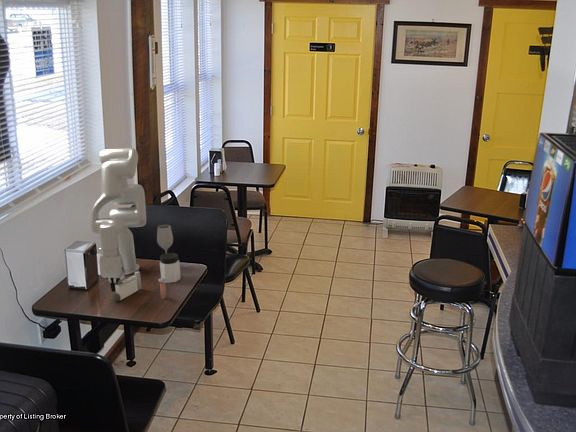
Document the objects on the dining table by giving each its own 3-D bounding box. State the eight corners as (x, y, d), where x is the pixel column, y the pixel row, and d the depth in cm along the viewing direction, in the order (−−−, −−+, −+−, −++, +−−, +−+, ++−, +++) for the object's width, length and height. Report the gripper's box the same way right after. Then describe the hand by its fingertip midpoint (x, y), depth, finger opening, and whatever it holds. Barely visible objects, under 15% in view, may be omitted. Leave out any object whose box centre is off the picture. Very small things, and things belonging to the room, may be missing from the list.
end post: (158, 298, 279) (156, 279, 276) (163, 295, 282) (162, 277, 279) (163, 300, 277) (161, 281, 275) (169, 297, 280) (167, 279, 277)
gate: (137, 287, 290) (136, 270, 288) (143, 288, 289) (141, 272, 287) (113, 300, 277) (111, 283, 275) (119, 302, 276) (117, 285, 273)
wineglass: (156, 267, 314) (152, 226, 307) (169, 262, 319) (166, 223, 312) (165, 271, 309) (161, 230, 302) (178, 266, 314) (175, 226, 307)
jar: (183, 280, 298) (181, 256, 294) (168, 284, 293) (165, 260, 289) (173, 274, 304) (171, 251, 301) (158, 279, 300) (156, 255, 296)
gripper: (90, 253, 274) (95, 292, 279) (121, 255, 270) (125, 295, 275) (100, 247, 280) (104, 285, 286) (130, 249, 276) (134, 288, 282)
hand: (115, 290), depth 280 cm, fingers closed
